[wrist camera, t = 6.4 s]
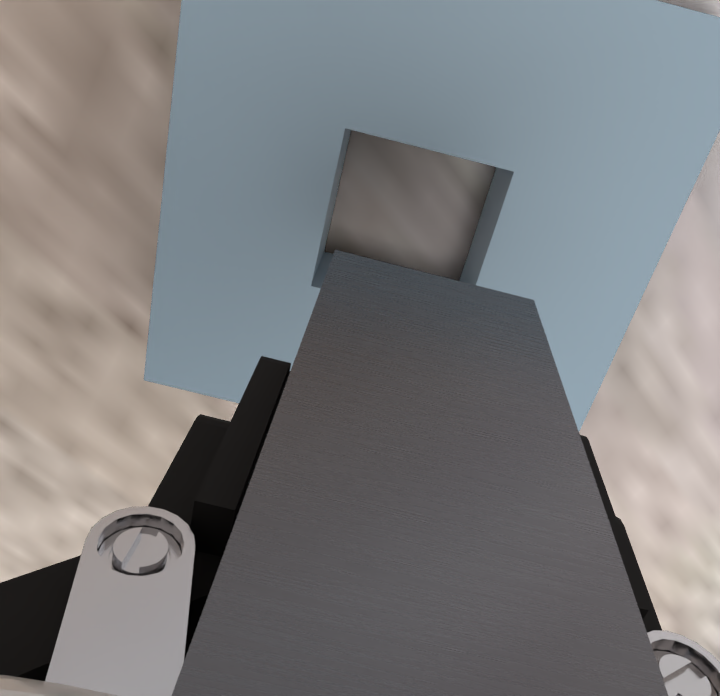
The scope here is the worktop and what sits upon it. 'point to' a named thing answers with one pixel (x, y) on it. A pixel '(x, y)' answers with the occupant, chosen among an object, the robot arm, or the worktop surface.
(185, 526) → the robot arm
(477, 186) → the worktop surface
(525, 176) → the bore block
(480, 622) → the square peg
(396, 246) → the worktop surface
